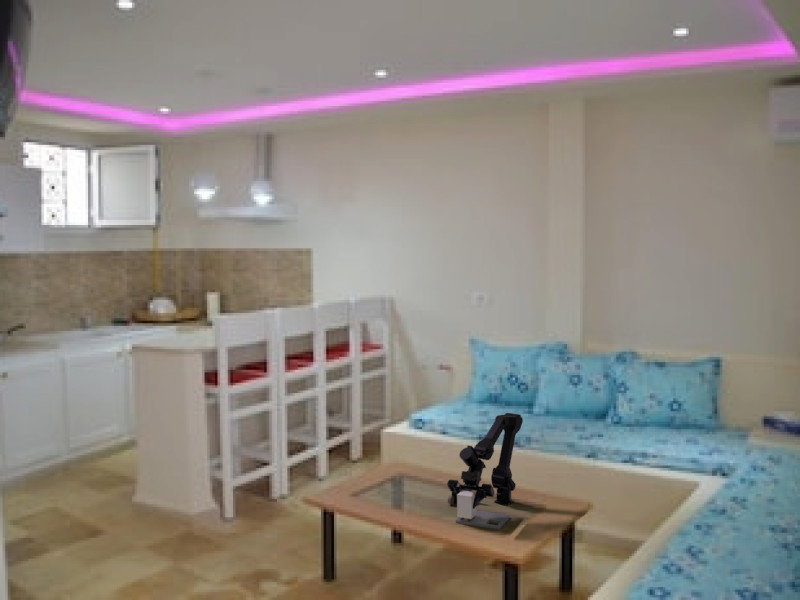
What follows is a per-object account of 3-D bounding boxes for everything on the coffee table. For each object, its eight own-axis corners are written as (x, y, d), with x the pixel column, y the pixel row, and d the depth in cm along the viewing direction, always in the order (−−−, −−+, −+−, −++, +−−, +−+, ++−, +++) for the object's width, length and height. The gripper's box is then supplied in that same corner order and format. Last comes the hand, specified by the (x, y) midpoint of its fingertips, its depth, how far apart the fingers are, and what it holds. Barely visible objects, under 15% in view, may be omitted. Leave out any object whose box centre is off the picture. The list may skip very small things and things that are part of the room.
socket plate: (468, 515, 296) (468, 509, 296) (509, 521, 288) (509, 515, 288) (455, 526, 283) (455, 520, 283) (499, 533, 276) (499, 526, 276)
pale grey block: (462, 517, 289) (462, 490, 288) (476, 519, 286) (476, 492, 286) (457, 522, 284) (457, 494, 283) (471, 524, 281) (471, 496, 280)
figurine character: (461, 514, 301) (478, 500, 313) (460, 497, 300) (477, 484, 312) (447, 512, 305) (464, 498, 317) (446, 495, 304) (463, 481, 316)
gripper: (448, 460, 292) (438, 494, 282) (491, 464, 283) (483, 500, 274) (455, 473, 299) (446, 507, 290) (498, 478, 291) (489, 514, 281)
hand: (465, 507), depth 283 cm, fingers closed on pale grey block, 6 cm apart
